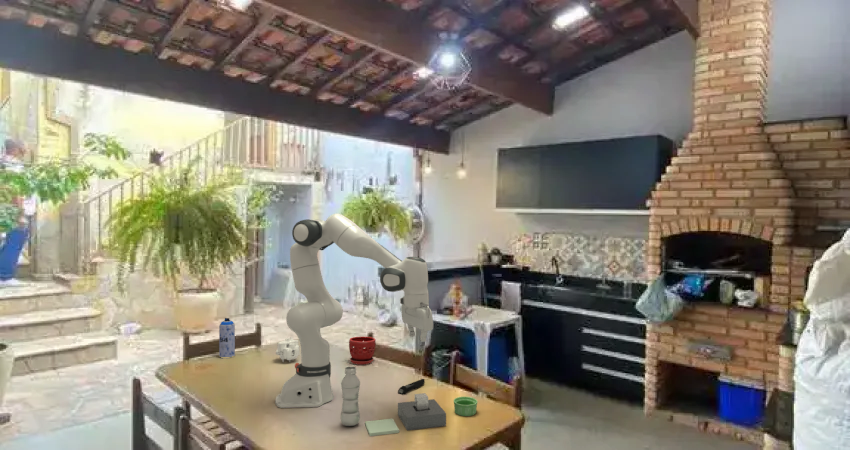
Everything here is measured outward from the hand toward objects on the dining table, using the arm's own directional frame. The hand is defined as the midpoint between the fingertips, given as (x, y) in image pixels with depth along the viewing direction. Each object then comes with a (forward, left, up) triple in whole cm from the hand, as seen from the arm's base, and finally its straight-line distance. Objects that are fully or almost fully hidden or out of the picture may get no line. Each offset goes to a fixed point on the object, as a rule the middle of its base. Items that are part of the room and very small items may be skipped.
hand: (417, 338), depth 184 cm
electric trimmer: (+5, +27, -29) cm, 40 cm away
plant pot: (-9, +72, -28) cm, 78 cm away
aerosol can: (-75, +101, -28) cm, 129 cm away
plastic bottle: (-25, -2, -28) cm, 38 cm away
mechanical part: (-45, +84, -28) cm, 99 cm away
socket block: (0, -5, -28) cm, 29 cm away
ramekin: (+18, -2, -29) cm, 34 cm away
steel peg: (0, -5, -28) cm, 29 cm away
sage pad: (-15, -8, -28) cm, 33 cm away
